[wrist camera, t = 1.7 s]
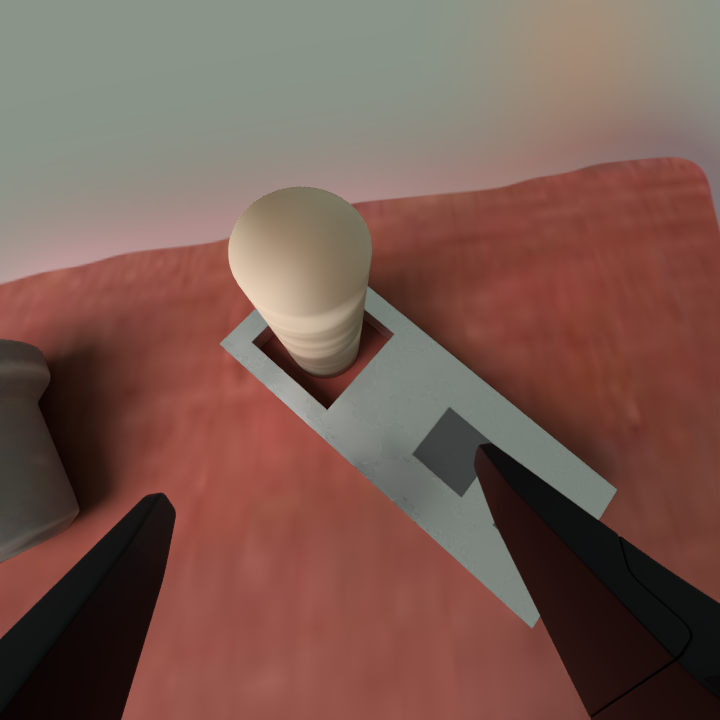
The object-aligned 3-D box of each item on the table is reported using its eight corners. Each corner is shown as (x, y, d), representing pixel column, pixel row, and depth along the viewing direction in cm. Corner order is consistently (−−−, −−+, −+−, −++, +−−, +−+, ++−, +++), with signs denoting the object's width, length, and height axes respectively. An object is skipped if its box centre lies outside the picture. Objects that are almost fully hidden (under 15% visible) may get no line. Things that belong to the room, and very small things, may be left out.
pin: (328, 392, 23) (304, 344, 10) (278, 348, 23) (197, 251, 11) (372, 343, 24) (400, 243, 11) (323, 302, 24) (298, 163, 12)
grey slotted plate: (514, 609, 20) (533, 629, 18) (230, 351, 23) (219, 343, 21) (593, 484, 22) (618, 489, 20) (321, 261, 25) (319, 246, 23)
